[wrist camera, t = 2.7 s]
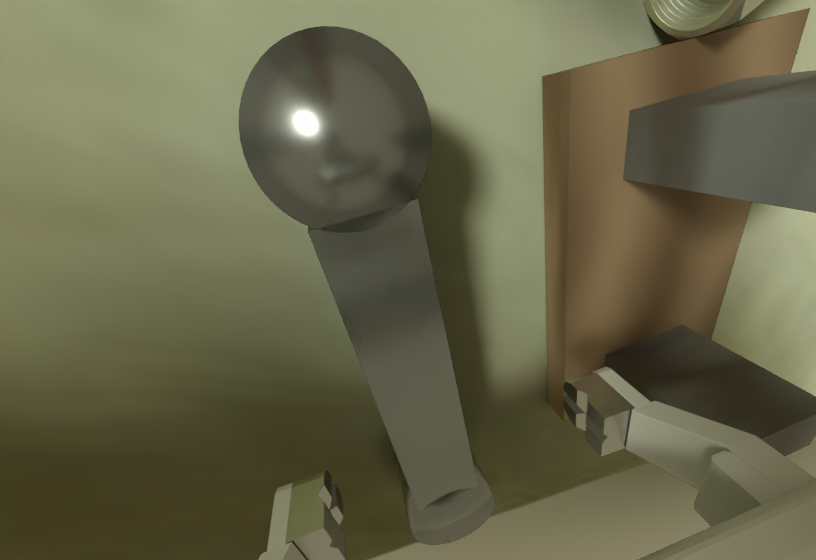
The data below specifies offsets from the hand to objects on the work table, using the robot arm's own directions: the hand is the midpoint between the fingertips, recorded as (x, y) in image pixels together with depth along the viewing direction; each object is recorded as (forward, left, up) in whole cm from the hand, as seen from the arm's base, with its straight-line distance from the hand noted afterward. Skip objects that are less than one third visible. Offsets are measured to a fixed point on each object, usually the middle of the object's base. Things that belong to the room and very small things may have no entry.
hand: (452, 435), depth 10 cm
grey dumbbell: (-1, 0, -6) cm, 6 cm away
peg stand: (+12, 0, -6) cm, 14 cm away
